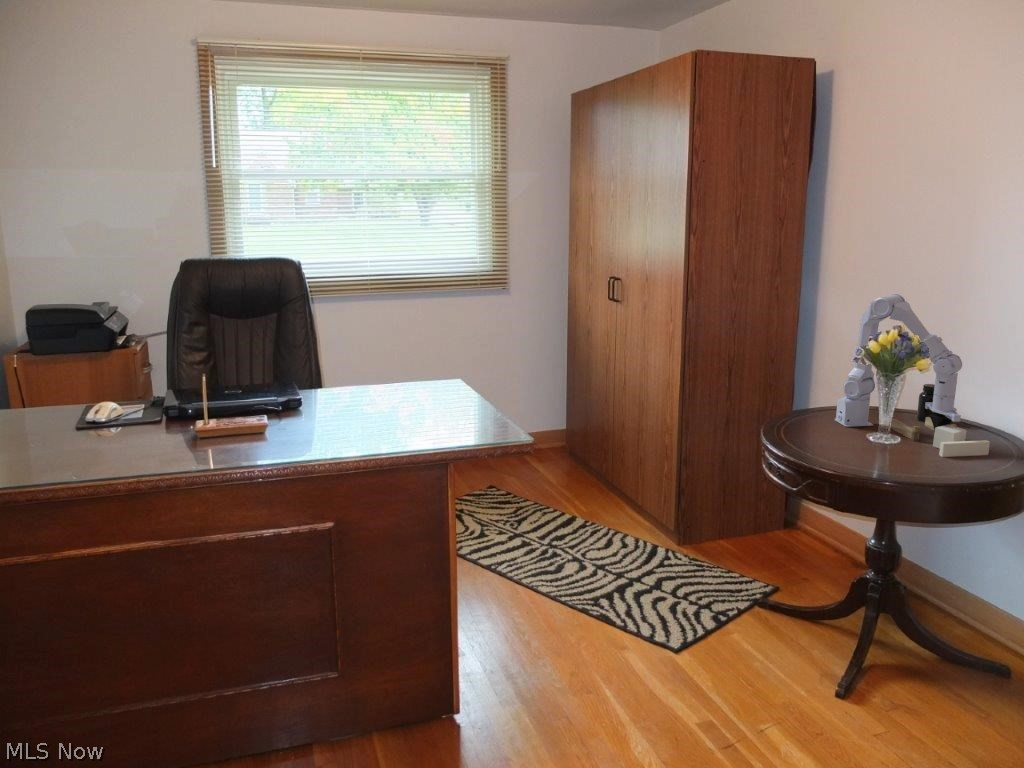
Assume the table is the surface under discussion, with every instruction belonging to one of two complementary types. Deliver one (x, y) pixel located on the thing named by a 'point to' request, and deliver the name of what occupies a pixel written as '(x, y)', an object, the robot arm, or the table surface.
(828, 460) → the table surface
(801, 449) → the table surface
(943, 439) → the beige cube
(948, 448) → the board
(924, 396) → the supplement bottle
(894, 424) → the chute
